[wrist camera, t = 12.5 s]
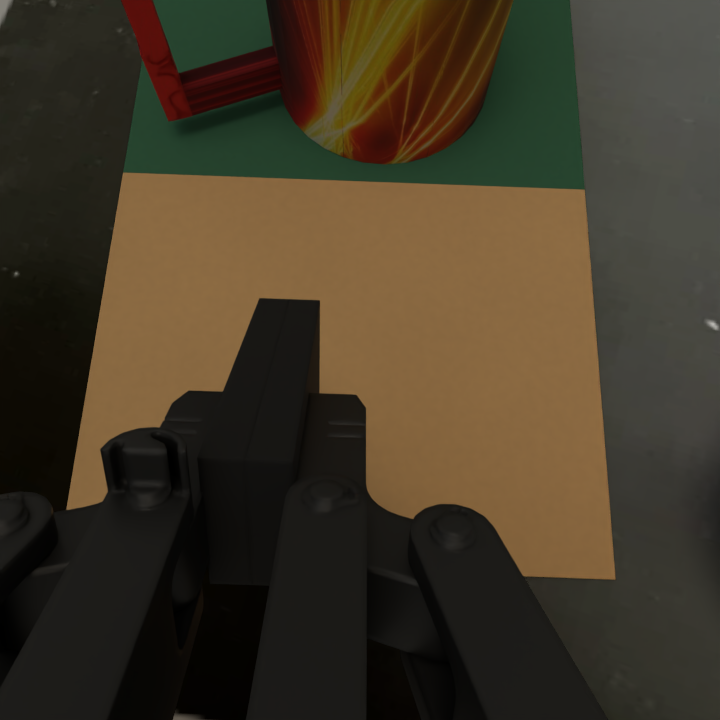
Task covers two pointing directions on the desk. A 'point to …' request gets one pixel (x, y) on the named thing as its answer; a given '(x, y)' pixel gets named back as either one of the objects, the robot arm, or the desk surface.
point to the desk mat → (376, 286)
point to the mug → (349, 71)
